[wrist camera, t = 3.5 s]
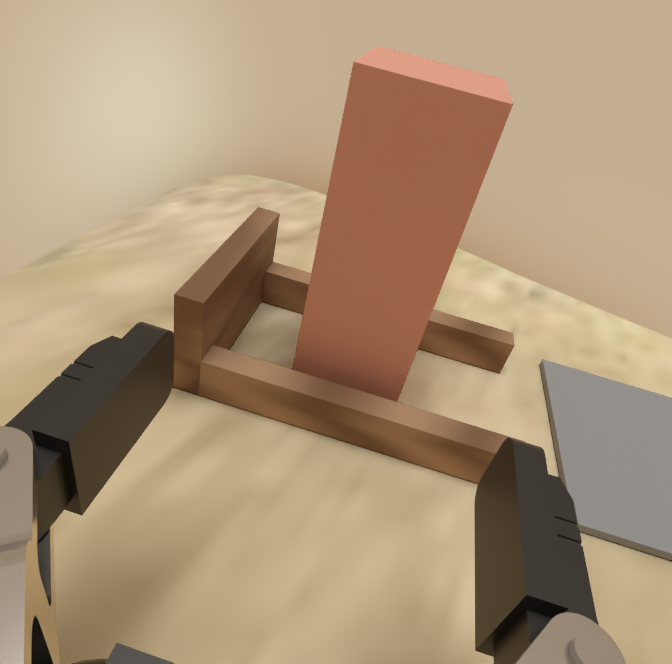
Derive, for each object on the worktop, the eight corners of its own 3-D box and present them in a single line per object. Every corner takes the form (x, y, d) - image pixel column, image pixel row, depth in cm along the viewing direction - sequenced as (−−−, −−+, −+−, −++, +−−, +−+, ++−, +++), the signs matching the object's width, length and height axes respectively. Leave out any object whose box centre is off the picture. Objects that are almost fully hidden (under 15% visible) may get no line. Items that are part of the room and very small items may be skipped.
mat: (727, 420, 29) (732, 415, 28) (841, 614, 20) (849, 610, 20) (539, 364, 29) (542, 359, 29) (568, 527, 20) (573, 522, 20)
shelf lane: (498, 360, 29) (536, 288, 26) (508, 492, 21) (562, 412, 18) (236, 281, 30) (244, 203, 27) (156, 381, 22) (154, 288, 19)
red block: (402, 355, 27) (504, 79, 19) (390, 418, 23) (512, 104, 15) (315, 328, 28) (378, 45, 19) (288, 387, 24) (353, 61, 15)
